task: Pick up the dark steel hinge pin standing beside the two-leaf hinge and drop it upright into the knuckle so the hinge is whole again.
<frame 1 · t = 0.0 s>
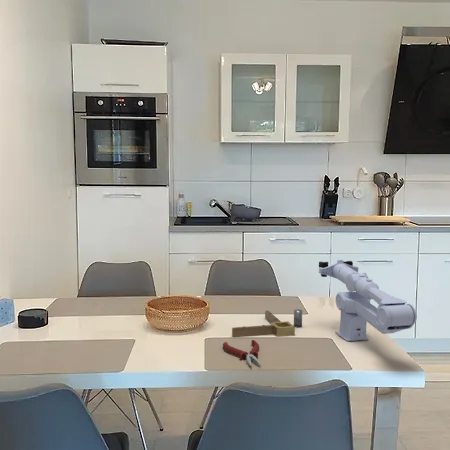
hand: (329, 263, 203), 22 cm above the table, tool horizontal, fingers open, 7 cm apart
hinge: (282, 332, 190), on the table
hinge pin: (297, 326, 198), on the table
pliers: (241, 357, 168), on the table
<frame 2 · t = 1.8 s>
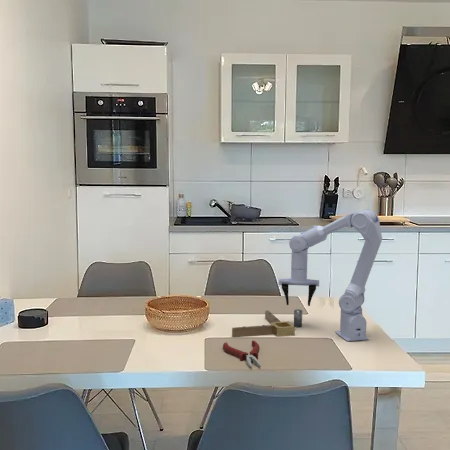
hand: (298, 304, 197), 8 cm above the table, tool pointing down, fingers open, 7 cm apart
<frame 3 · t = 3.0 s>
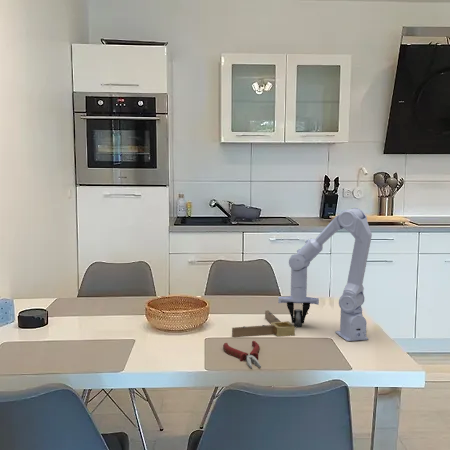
hand: (297, 322, 197), 1 cm above the table, tool pointing down, fingers closed on hinge pin, 3 cm apart
hinge pin: (297, 326, 198), on the table, touching gripper
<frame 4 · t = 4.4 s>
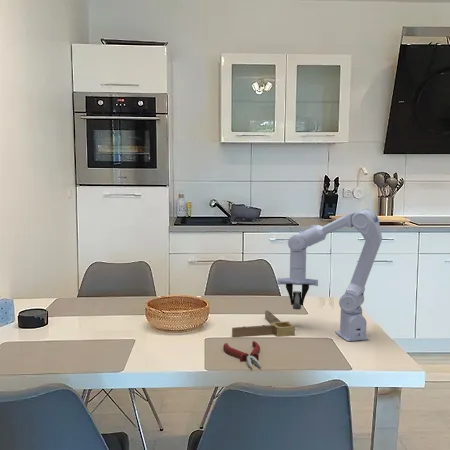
hand: (296, 304, 196), 8 cm above the table, tool pointing down, fingers closed on hinge pin, 3 cm apart
hinge pin: (296, 308, 196), point 7 cm above the table, touching gripper
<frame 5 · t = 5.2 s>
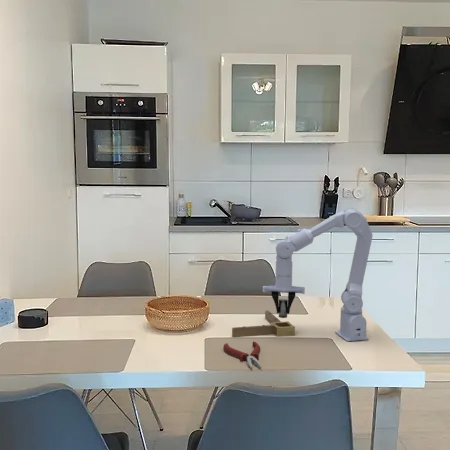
hand: (283, 312, 189), 7 cm above the table, tool pointing down, fingers closed on hinge pin, 3 cm apart
hinge pin: (282, 316, 189), point 6 cm above the table, touching gripper
when the fingers open (5 cm above the table, at t = 5.9 s): hinge pin drops 3 cm, resting in hinge.
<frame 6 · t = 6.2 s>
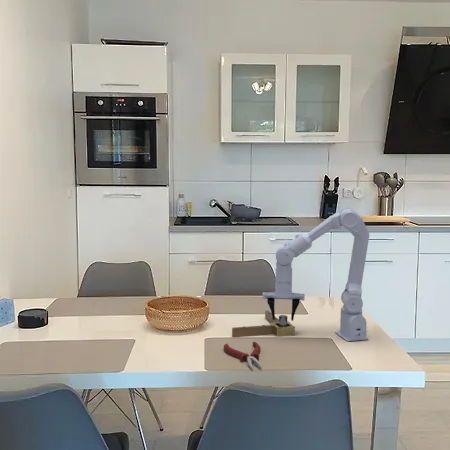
hand: (282, 319, 189), 5 cm above the table, tool pointing down, fingers open, 6 cm apart
hinge pin: (282, 332, 190), resting in hinge
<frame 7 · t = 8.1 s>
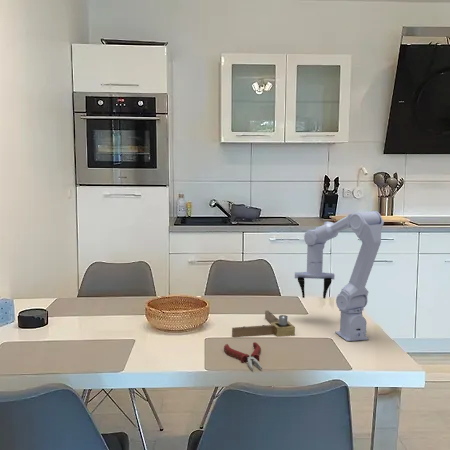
hand: (313, 297, 202), 9 cm above the table, tool pointing down, fingers open, 7 cm apart
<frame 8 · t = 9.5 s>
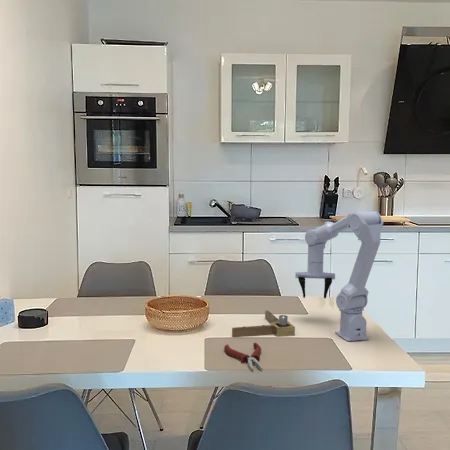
hand: (314, 297, 202), 9 cm above the table, tool pointing down, fingers open, 7 cm apart
at the end: hinge pin 0.1 cm off-centre on the hinge, point 0.0 cm above the hinge's base; hinge pin tilted 0°; the gripper is holding nothing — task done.
